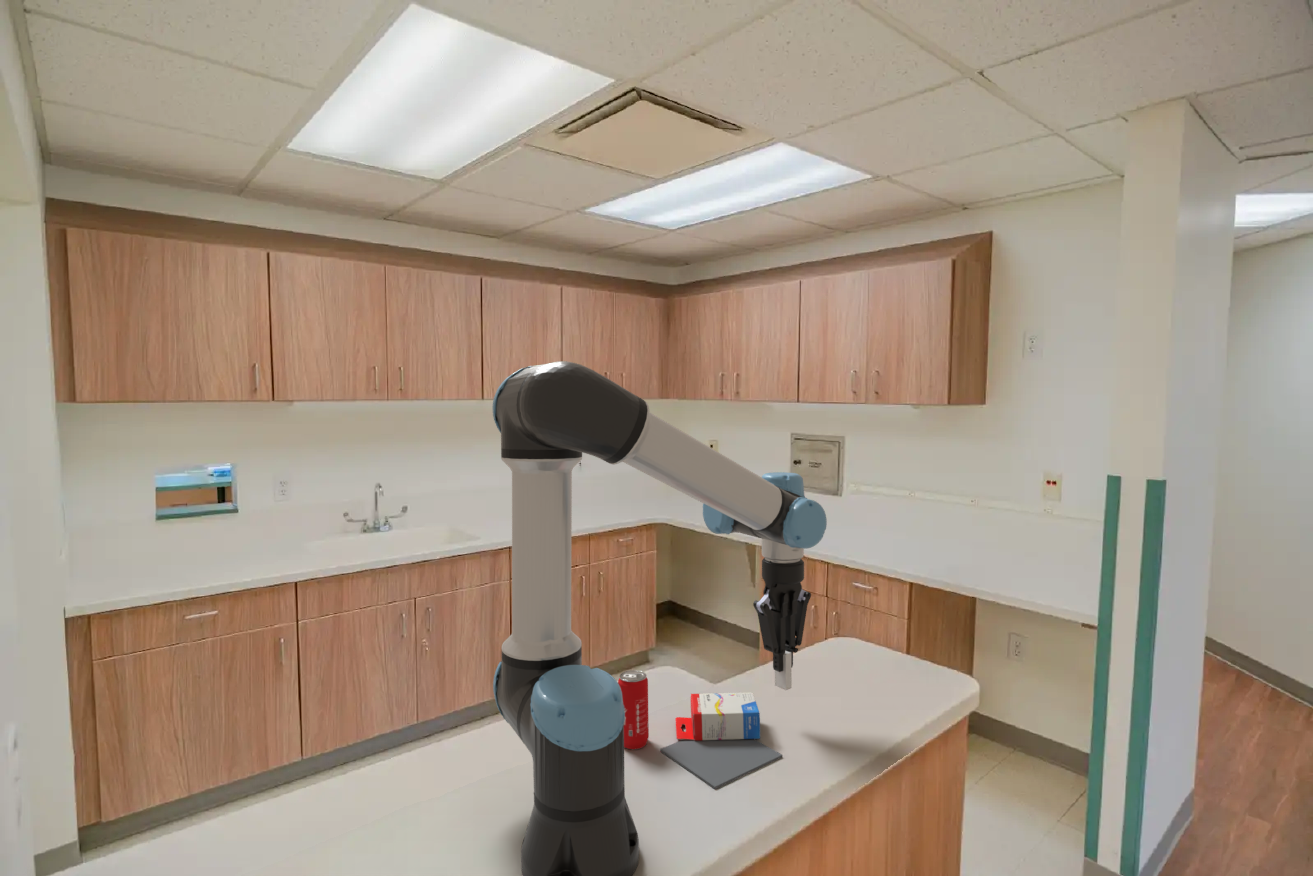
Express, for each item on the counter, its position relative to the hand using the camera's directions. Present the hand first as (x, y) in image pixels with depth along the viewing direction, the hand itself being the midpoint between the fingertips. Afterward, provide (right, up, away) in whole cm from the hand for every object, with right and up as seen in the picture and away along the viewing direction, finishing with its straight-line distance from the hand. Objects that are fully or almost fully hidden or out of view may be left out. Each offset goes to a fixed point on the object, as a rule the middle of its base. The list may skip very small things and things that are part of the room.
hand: (783, 686), depth 118 cm
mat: (-12, -8, -9) cm, 17 cm away
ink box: (-5, -5, -1) cm, 7 cm away
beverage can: (-27, -8, -5) cm, 29 cm away
